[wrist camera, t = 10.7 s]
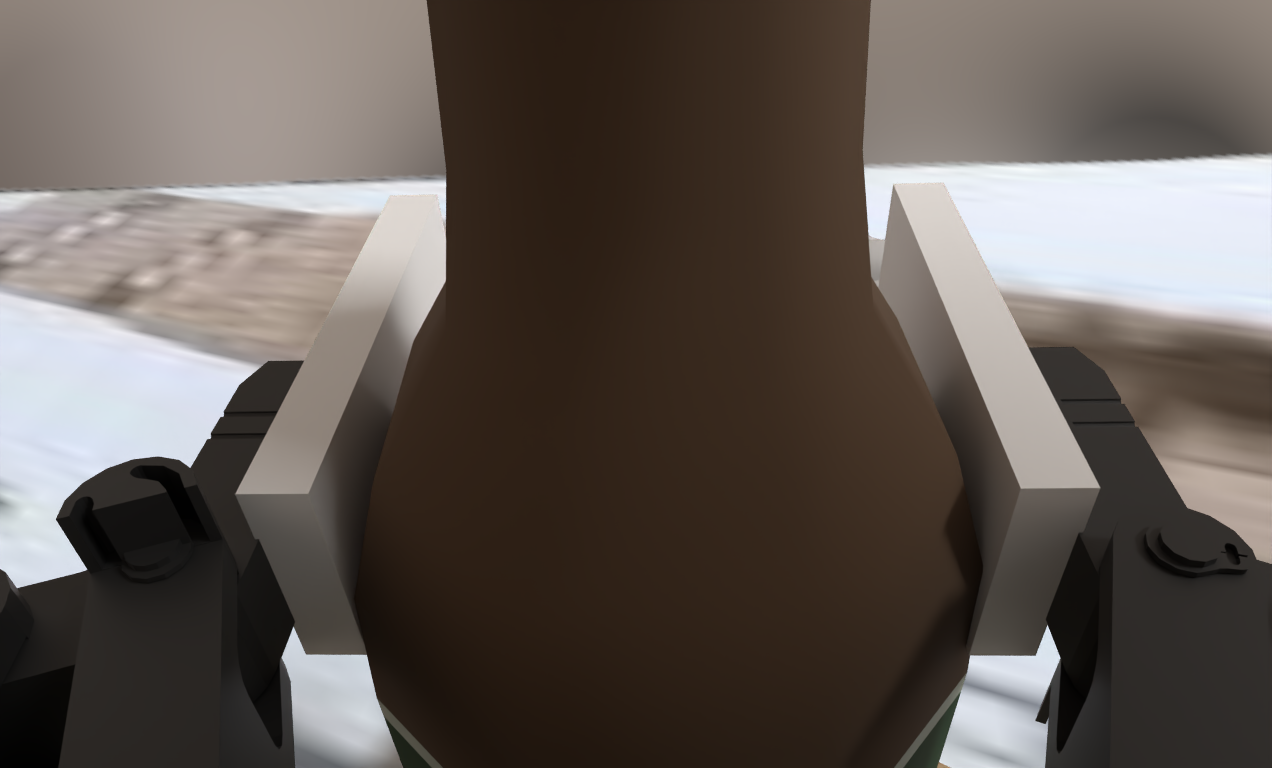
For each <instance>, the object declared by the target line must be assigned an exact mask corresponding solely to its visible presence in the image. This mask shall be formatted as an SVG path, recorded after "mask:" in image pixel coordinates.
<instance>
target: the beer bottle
mask: <svg viewBox="0 0 1272 768" xmlns="http://www.w3.org/2000/svg"><path fill="white" fill-rule="evenodd" d="M870 3H871V0H427V7H428V15H429V24H430V33H431V41H432V50H433V59H434V67H435V76H436V85H437V93H438V102H439V110H440V119H441V128H442V136H443V145H444V154H445V162H446V281H445V283H444V285H443V287H442V289H441V291H440V293H439V294H438V296H437V298H436V300H435V302H434V304H433V306H432V307H431V309H430V311H429V313H428V315H427V317H426V319H425V320H424V322H423V324H422V326H421V328H420V330H419V332H418V333H417V335H416V337H415V339H414V341H413V344H412V348H411V351H410V355H409V358H408V362H407V365H406V369H405V372H404V376H403V379H402V383H401V386H400V390H399V393H398V397H397V400H396V404H395V407H394V411H393V414H392V418H391V421H390V425H389V428H388V432H387V435H386V439H385V442H384V446H383V449H382V453H381V456H380V460H379V463H378V467H377V470H376V474H375V477H374V481H373V486H372V492H371V498H370V504H369V510H368V516H367V522H366V529H365V535H364V541H363V547H362V553H361V559H360V565H359V572H358V578H357V584H356V590H355V596H354V601H355V606H356V610H357V614H358V619H359V623H360V627H361V632H362V636H363V640H364V644H365V649H366V653H367V657H368V662H369V666H370V670H371V675H372V679H373V683H374V687H375V692H376V696H377V699H378V702H379V705H380V707H381V710H382V713H383V715H384V718H385V721H386V723H387V726H388V728H389V731H390V734H391V736H392V739H393V742H394V744H395V747H396V749H397V752H398V755H399V757H400V760H401V763H402V765H403V768H937V766H938V763H939V760H940V757H941V753H942V750H943V747H944V744H945V741H946V738H947V734H948V731H949V728H950V725H951V722H952V718H953V715H954V712H955V709H956V706H957V703H958V699H959V696H960V693H961V690H962V687H963V684H964V680H965V677H966V674H967V670H968V664H969V658H970V655H969V654H968V650H967V647H966V644H967V640H968V635H969V631H970V627H971V622H972V618H973V613H974V609H975V604H976V600H977V596H978V591H979V587H980V582H981V578H982V573H983V563H982V558H981V554H980V550H979V546H978V541H977V537H976V533H975V528H974V524H973V520H972V516H971V511H970V507H969V503H968V498H967V494H966V490H965V486H964V481H963V477H962V473H961V468H960V464H959V460H958V456H957V453H956V451H955V449H954V447H953V444H952V442H951V440H950V437H949V435H948V433H947V431H946V428H945V426H944V424H943V421H942V419H941V417H940V415H939V412H938V410H937V408H936V405H935V403H934V401H933V399H932V396H931V394H930V392H929V390H928V387H927V385H926V383H925V380H924V378H923V376H922V374H921V371H920V369H919V367H918V364H917V362H916V360H915V358H914V355H913V353H912V351H911V348H910V346H909V344H908V342H907V339H906V337H905V335H904V332H903V330H902V328H901V326H900V323H899V321H898V319H897V317H896V315H895V314H894V312H893V311H892V309H891V307H890V306H889V304H888V303H887V301H886V299H885V298H884V296H883V295H882V293H881V291H880V290H879V288H878V287H877V285H876V283H875V282H874V280H873V279H872V277H871V265H870V251H869V236H868V222H867V207H866V193H865V179H864V164H863V150H862V149H863V131H864V114H865V95H866V77H867V59H868V41H869V23H870Z"/></svg>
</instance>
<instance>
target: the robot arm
mask: <svg viewBox="0 0 1272 768" xmlns="http://www.w3.org/2000/svg"><path fill="white" fill-rule="evenodd" d="M445 281H446V237H445V231H444V226H443V221H442V216H441V211H440V206H439V200H438V195H397V196H390V197H389V198H388V200H387V202H386V204H385V206H384V208H383V210H382V212H381V214H380V216H379V218H378V220H377V222H376V224H375V225H374V227H373V229H372V231H371V233H370V235H369V237H368V239H367V241H366V243H365V245H364V247H363V249H362V251H361V252H360V254H359V256H358V258H357V260H356V262H355V264H354V266H353V268H352V270H351V272H350V274H349V276H348V278H347V279H346V281H345V283H344V285H343V287H342V289H341V291H340V293H339V295H338V297H337V299H336V301H335V303H334V305H333V306H332V308H331V310H330V312H329V314H328V316H327V318H326V320H325V322H324V324H323V326H322V328H321V330H320V332H319V333H318V335H317V337H316V339H315V341H314V343H313V345H312V347H311V349H310V351H309V353H308V355H307V357H306V359H305V360H304V361H268V362H267V363H265V364H264V365H263V366H262V367H261V368H259V369H258V370H257V371H256V372H254V373H253V374H252V375H251V376H250V377H248V378H247V379H246V380H245V381H244V382H242V383H241V384H240V385H239V387H238V388H237V390H236V392H235V393H234V395H233V397H232V398H231V400H230V402H229V404H228V405H227V407H226V409H225V410H224V417H220V419H219V421H218V422H217V424H216V426H215V427H214V429H213V431H212V432H211V439H207V441H206V443H205V444H204V446H203V448H202V449H201V451H200V453H199V454H198V456H197V458H196V459H195V461H194V463H193V465H192V466H191V468H189V467H188V466H187V465H185V464H184V463H182V462H181V461H180V460H176V459H170V458H164V457H150V458H142V459H133V460H130V461H127V462H125V463H122V464H119V465H116V466H113V467H110V468H107V469H105V470H104V471H102V472H100V473H99V474H97V475H95V476H94V477H92V478H90V479H89V480H87V481H85V482H84V483H82V484H81V485H80V486H79V487H78V488H77V489H76V490H75V491H74V492H73V493H72V494H71V495H70V496H69V497H68V498H67V499H66V500H65V501H64V503H63V505H62V508H61V510H60V512H59V514H58V516H57V518H56V520H57V522H58V524H59V525H60V527H61V528H62V530H63V531H64V533H65V535H66V536H67V538H68V539H69V541H70V543H71V544H72V546H73V547H74V549H75V551H76V552H77V554H78V555H79V557H80V558H81V560H82V562H83V563H84V565H85V566H86V568H87V570H86V571H83V572H80V573H76V574H72V575H68V576H64V577H60V578H56V579H52V580H48V581H44V582H40V583H36V584H32V585H28V586H24V587H20V588H16V586H15V585H14V584H13V582H12V581H11V579H10V578H9V577H8V575H7V574H6V572H4V571H2V570H1V569H0V768H295V756H294V738H293V719H292V700H291V681H290V678H289V675H288V672H287V669H286V666H285V664H284V662H283V660H282V658H281V657H282V655H283V652H284V649H285V647H286V644H287V642H288V639H289V637H290V634H291V631H292V629H293V626H294V628H295V630H296V633H297V635H298V637H299V640H300V642H301V644H302V646H303V649H304V651H305V653H306V654H326V655H367V653H366V649H365V644H364V640H363V636H362V632H361V627H360V623H359V619H358V614H357V610H356V606H355V601H354V596H355V590H356V584H357V578H358V572H359V565H360V559H361V553H362V547H363V541H364V535H365V529H366V522H367V516H368V510H369V504H370V498H371V492H372V486H373V481H374V477H375V474H376V470H377V467H378V463H379V460H380V456H381V453H382V449H383V446H384V442H385V439H386V435H387V432H388V428H389V425H390V421H391V418H392V414H393V411H394V407H395V404H396V400H397V397H398V393H399V390H400V386H401V383H402V379H403V376H404V372H405V369H406V365H407V362H408V358H409V355H410V351H411V348H412V344H413V341H414V339H415V337H416V335H417V333H418V332H419V330H420V328H421V326H422V324H423V322H424V320H425V319H426V317H427V315H428V313H429V311H430V309H431V307H432V306H433V304H434V302H435V300H436V298H437V296H438V294H439V293H440V291H441V289H442V287H443V285H444V283H445ZM878 288H879V290H880V291H881V293H882V295H883V296H884V298H885V299H886V301H887V303H888V304H889V306H890V307H891V309H892V311H893V312H894V314H895V315H896V317H897V319H898V321H899V323H900V326H901V328H902V330H903V332H904V335H905V337H906V339H907V342H908V344H909V346H910V348H911V351H912V353H913V355H914V358H915V360H916V362H917V364H918V367H919V369H920V371H921V374H922V376H923V378H924V380H925V383H926V385H927V387H928V390H929V392H930V394H931V396H932V399H933V401H934V403H935V405H936V408H937V410H938V412H939V415H940V417H941V419H942V421H943V424H944V426H945V428H946V431H947V433H948V435H949V437H950V440H951V442H952V444H953V447H954V449H955V451H956V453H957V456H958V460H959V464H960V468H961V473H962V477H963V481H964V486H965V490H966V494H967V498H968V503H969V507H970V511H971V516H972V520H973V524H974V528H975V533H976V537H977V541H978V546H979V550H980V554H981V558H982V563H983V573H982V578H981V582H980V587H979V591H978V596H977V600H976V604H975V609H974V613H973V618H972V622H971V627H970V631H969V635H968V640H967V644H966V647H967V650H968V654H969V655H1005V656H1036V653H1037V650H1038V648H1039V645H1040V643H1041V640H1042V638H1043V635H1044V632H1045V630H1046V627H1047V625H1048V627H1049V629H1050V632H1051V634H1052V637H1053V640H1054V642H1055V645H1056V647H1057V650H1058V652H1059V655H1060V658H1061V659H1060V661H1059V663H1058V666H1057V668H1056V671H1055V673H1054V675H1053V678H1052V680H1051V683H1050V685H1049V687H1048V690H1047V692H1046V695H1045V697H1044V699H1043V702H1042V704H1041V707H1040V710H1039V712H1038V715H1037V718H1036V721H1037V722H1040V723H1044V724H1046V722H1047V720H1048V717H1049V721H1048V735H1047V749H1046V764H1045V768H1272V564H1269V563H1266V562H1263V561H1259V560H1256V557H1255V555H1254V553H1253V550H1252V549H1251V548H1250V547H1249V546H1248V545H1247V544H1246V543H1245V542H1244V541H1243V540H1242V539H1241V537H1240V536H1239V535H1238V534H1237V533H1236V532H1235V531H1234V530H1232V529H1230V528H1229V527H1227V526H1225V525H1224V524H1222V523H1220V522H1219V521H1217V520H1216V519H1214V518H1212V517H1211V516H1209V515H1206V514H1203V513H1200V512H1197V511H1194V510H1191V509H1188V508H1187V507H1186V505H1185V504H1184V502H1183V500H1182V499H1181V497H1180V495H1179V494H1178V492H1177V490H1176V489H1175V487H1174V485H1173V484H1172V482H1171V480H1170V479H1169V477H1168V475H1167V474H1166V472H1165V470H1164V469H1163V467H1162V465H1161V464H1160V462H1159V460H1158V459H1157V457H1156V456H1155V454H1154V452H1153V451H1152V449H1151V447H1150V446H1149V444H1148V442H1147V441H1146V439H1145V437H1144V436H1143V434H1142V432H1141V431H1140V429H1139V427H1135V425H1134V423H1135V421H1134V419H1133V417H1132V416H1131V414H1130V412H1129V411H1128V409H1127V407H1126V406H1125V404H1121V398H1120V396H1119V394H1118V393H1117V391H1116V389H1115V388H1114V386H1113V384H1112V383H1111V381H1110V379H1109V378H1108V376H1107V374H1106V373H1105V371H1104V370H1103V369H1101V368H1100V367H1099V366H1097V365H1096V364H1095V363H1094V362H1092V361H1091V360H1090V359H1088V358H1087V357H1086V356H1085V355H1083V354H1082V353H1081V352H1079V351H1078V350H1077V349H1076V348H1074V347H1037V348H1028V346H1027V344H1026V342H1025V340H1024V338H1023V336H1022V334H1021V333H1020V331H1019V329H1018V327H1017V325H1016V323H1015V321H1014V319H1013V317H1012V315H1011V313H1010V311H1009V309H1008V307H1007V305H1006V303H1005V301H1004V299H1003V298H1002V296H1001V294H1000V292H999V290H998V288H997V286H996V284H995V282H994V280H993V278H992V276H991V274H990V272H989V270H988V268H987V266H986V264H985V263H984V261H983V259H982V257H981V255H980V253H979V251H978V249H977V247H976V245H975V243H974V241H973V239H972V237H971V235H970V233H969V231H968V229H967V227H966V226H965V224H964V222H963V220H962V218H961V216H960V214H959V212H958V210H957V208H956V206H955V204H954V202H953V200H952V198H951V196H950V194H949V192H948V191H947V189H946V187H945V185H944V183H910V184H893V190H892V197H891V204H890V211H889V217H888V224H887V231H886V238H885V245H884V252H883V258H882V265H881V272H880V279H879V286H878Z"/></svg>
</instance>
